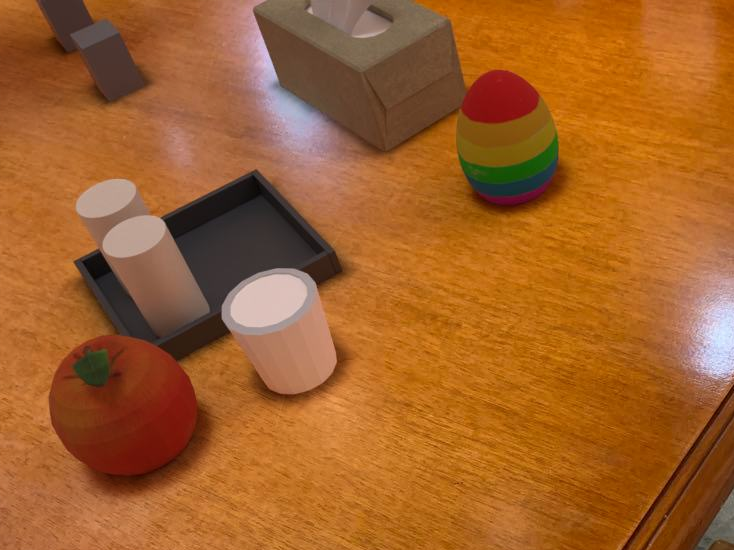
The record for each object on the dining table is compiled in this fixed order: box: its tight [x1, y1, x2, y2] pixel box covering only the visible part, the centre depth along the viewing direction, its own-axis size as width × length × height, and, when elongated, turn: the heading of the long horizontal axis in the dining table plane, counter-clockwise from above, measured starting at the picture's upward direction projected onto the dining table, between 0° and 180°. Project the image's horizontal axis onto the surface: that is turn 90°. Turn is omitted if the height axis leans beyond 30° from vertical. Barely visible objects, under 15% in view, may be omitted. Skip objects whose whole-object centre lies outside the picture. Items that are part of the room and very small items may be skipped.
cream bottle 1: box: [75, 178, 152, 297], centre depth 82 cm, size 5×5×8 cm
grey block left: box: [35, 0, 95, 53], centre depth 111 cm, size 4×4×6 cm
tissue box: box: [252, 0, 468, 153], centre depth 91 cm, size 19×10×16 cm, turn 41°
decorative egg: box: [455, 69, 560, 206], centre depth 82 cm, size 8×8×10 cm
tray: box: [72, 168, 343, 362], centre depth 84 cm, size 17×15×3 cm
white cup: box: [222, 268, 338, 395], centre depth 74 cm, size 7×7×7 cm
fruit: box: [48, 334, 198, 477], centre depth 70 cm, size 10×10×10 cm
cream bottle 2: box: [102, 214, 210, 338], centre depth 78 cm, size 5×5×8 cm
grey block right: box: [70, 18, 146, 103], centre depth 103 cm, size 4×4×6 cm
